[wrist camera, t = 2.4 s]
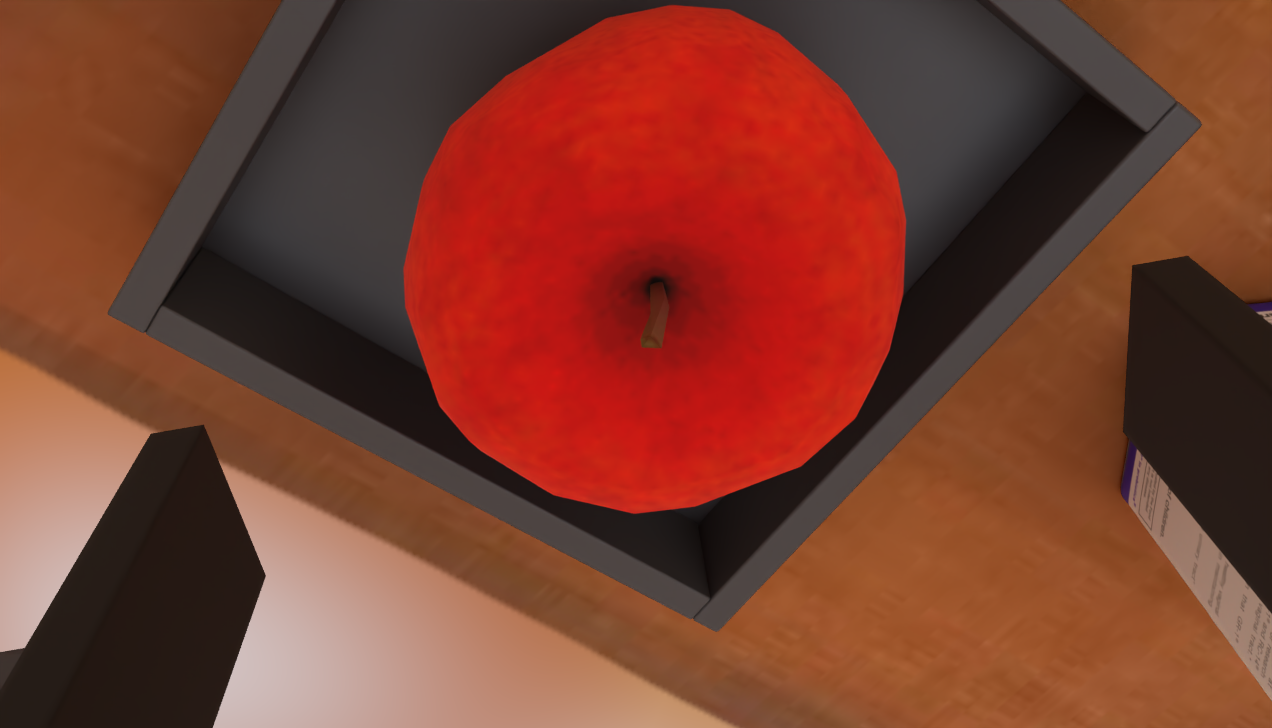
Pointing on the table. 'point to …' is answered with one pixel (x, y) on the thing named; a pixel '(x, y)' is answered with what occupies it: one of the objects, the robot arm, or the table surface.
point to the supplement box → (1203, 560)
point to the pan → (521, 32)
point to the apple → (657, 262)
